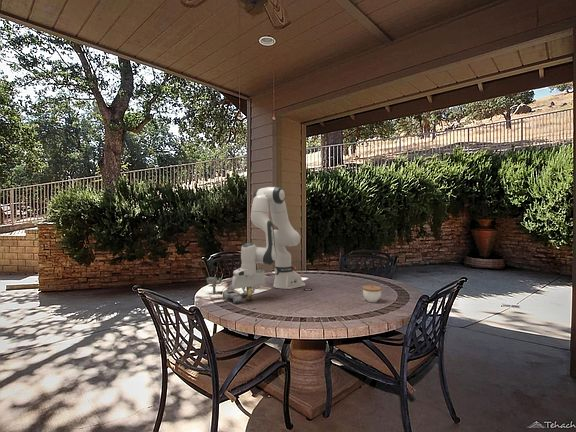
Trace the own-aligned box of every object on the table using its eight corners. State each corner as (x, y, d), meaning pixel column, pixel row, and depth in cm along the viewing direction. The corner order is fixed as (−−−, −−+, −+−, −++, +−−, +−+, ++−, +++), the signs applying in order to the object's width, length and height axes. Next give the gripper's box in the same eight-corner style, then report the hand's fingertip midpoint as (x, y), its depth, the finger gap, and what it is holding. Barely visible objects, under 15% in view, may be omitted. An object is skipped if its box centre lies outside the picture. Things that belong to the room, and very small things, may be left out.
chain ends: (247, 294, 211) (247, 288, 211) (257, 301, 197) (257, 294, 197) (222, 298, 203) (222, 291, 203) (231, 305, 189) (231, 298, 189)
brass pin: (250, 298, 201) (250, 284, 200) (252, 299, 198) (252, 286, 198) (245, 298, 199) (245, 285, 199) (247, 300, 196) (247, 286, 196)
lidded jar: (382, 303, 190) (382, 287, 189) (362, 302, 192) (362, 286, 191) (380, 298, 200) (380, 282, 200) (362, 297, 202) (362, 282, 202)
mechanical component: (220, 294, 212) (220, 278, 212) (205, 293, 214) (205, 278, 214) (222, 293, 215) (222, 277, 215) (207, 292, 217) (207, 277, 217)
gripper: (262, 267, 206) (262, 290, 206) (230, 271, 196) (231, 295, 196) (267, 269, 200) (267, 292, 201) (234, 273, 190) (234, 297, 191)
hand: (249, 293), depth 198 cm, fingers closed on brass pin, 3 cm apart
